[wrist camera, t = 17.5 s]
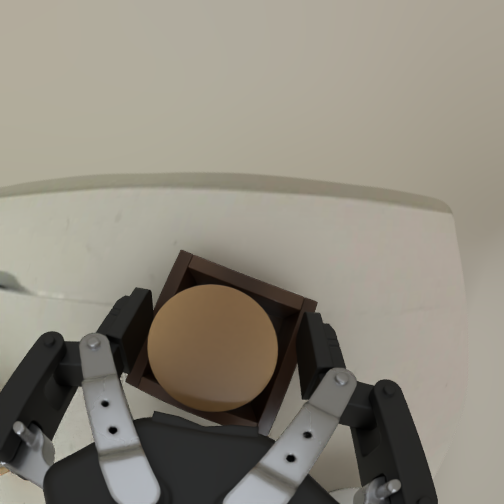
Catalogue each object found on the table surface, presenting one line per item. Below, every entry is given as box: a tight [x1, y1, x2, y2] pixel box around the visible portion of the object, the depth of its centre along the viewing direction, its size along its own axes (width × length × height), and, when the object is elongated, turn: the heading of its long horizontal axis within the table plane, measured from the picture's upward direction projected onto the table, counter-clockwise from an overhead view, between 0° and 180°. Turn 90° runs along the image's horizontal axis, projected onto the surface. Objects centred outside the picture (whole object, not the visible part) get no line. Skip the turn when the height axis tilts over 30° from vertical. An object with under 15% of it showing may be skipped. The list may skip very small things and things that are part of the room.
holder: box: [125, 250, 318, 437], centre depth 16 cm, size 8×8×6 cm
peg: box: [147, 284, 278, 412], centre depth 14 cm, size 5×5×10 cm
